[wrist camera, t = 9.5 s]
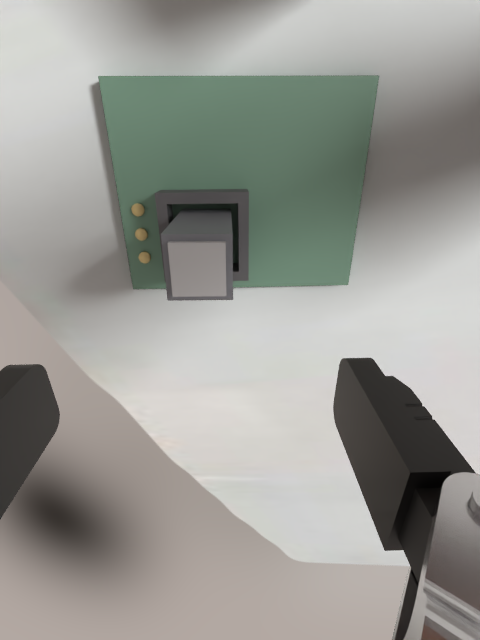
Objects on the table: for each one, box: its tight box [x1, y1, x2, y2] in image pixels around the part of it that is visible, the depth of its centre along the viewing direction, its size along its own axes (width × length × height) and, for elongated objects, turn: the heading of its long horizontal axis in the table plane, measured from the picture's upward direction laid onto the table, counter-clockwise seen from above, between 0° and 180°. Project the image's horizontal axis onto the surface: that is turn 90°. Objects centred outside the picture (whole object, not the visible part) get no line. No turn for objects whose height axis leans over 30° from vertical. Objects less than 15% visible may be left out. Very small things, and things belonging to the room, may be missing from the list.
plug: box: [161, 209, 233, 300], centre depth 23 cm, size 4×4×10 cm
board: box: [98, 76, 379, 289], centre depth 26 cm, size 20×16×4 cm
